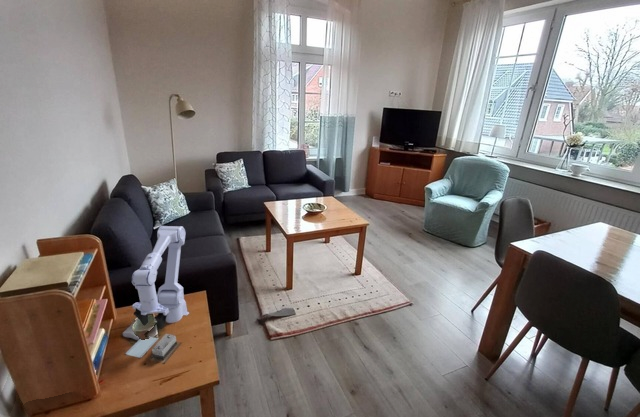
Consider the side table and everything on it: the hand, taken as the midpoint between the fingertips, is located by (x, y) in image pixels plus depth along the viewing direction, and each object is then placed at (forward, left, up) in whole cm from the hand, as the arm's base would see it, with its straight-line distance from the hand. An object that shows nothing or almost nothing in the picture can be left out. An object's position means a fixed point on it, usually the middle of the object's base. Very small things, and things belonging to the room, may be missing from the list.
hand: (154, 325), depth 122 cm
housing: (+3, +6, -9) cm, 11 cm away
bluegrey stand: (+3, -5, -10) cm, 12 cm away
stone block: (-5, -13, -11) cm, 18 cm away
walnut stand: (+3, +6, -10) cm, 12 cm away
